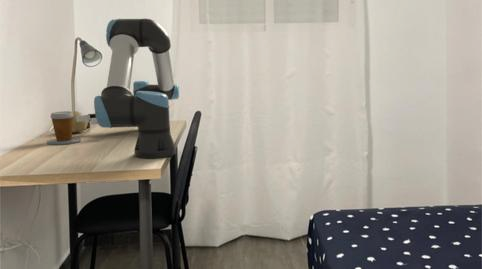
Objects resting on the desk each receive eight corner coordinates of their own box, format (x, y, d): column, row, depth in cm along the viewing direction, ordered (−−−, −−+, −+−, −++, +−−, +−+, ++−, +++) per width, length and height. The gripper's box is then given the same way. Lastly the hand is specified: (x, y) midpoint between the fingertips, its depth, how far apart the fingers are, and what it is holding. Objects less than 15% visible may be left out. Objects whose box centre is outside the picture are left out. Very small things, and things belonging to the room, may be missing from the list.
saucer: (68, 145, 195) (68, 143, 195) (39, 144, 199) (39, 142, 198) (87, 139, 208) (87, 137, 208) (60, 138, 212) (60, 136, 212)
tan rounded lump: (84, 129, 235) (82, 108, 233) (90, 133, 225) (89, 111, 223) (63, 132, 230) (62, 110, 228) (69, 135, 220) (67, 112, 218)
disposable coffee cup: (79, 139, 204) (77, 112, 202) (58, 143, 197) (56, 114, 195) (69, 137, 210) (67, 110, 208) (48, 140, 203) (46, 113, 201)
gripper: (140, 125, 216) (98, 131, 201) (112, 120, 233) (71, 126, 218) (139, 109, 214) (96, 114, 199) (111, 105, 232) (70, 110, 217)
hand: (83, 120), depth 209 cm, fingers open, 13 cm apart
